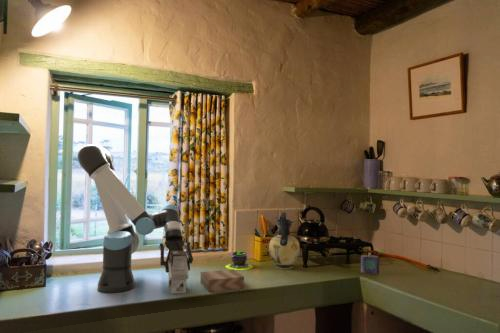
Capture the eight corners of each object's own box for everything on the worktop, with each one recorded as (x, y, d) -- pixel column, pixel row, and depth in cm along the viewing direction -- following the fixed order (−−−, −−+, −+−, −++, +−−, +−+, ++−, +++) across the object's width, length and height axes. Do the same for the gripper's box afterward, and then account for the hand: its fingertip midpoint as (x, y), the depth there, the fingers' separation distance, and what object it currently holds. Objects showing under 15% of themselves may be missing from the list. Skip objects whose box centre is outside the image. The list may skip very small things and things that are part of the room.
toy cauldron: (235, 262, 205) (235, 243, 205) (257, 266, 197) (258, 246, 198) (220, 267, 192) (220, 247, 193) (243, 271, 184) (243, 250, 185)
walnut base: (208, 292, 149) (208, 280, 150) (200, 283, 162) (200, 272, 163) (243, 288, 155) (244, 276, 156) (233, 279, 168) (233, 269, 169)
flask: (361, 273, 185) (361, 252, 185) (360, 272, 188) (360, 251, 188) (379, 274, 183) (379, 253, 184) (378, 273, 186) (378, 252, 186)
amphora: (267, 263, 204) (267, 211, 205) (296, 263, 205) (296, 211, 206) (270, 271, 186) (271, 213, 188) (302, 271, 187) (302, 214, 188)
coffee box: (168, 287, 154) (168, 250, 155) (182, 286, 157) (183, 249, 157) (171, 294, 146) (172, 254, 147) (186, 292, 148) (187, 253, 149)
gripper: (192, 237, 170) (200, 280, 154) (150, 239, 163) (154, 284, 147) (195, 227, 165) (203, 271, 150) (152, 229, 158) (156, 275, 142)
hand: (179, 277), depth 148 cm, fingers closed on coffee box, 6 cm apart
